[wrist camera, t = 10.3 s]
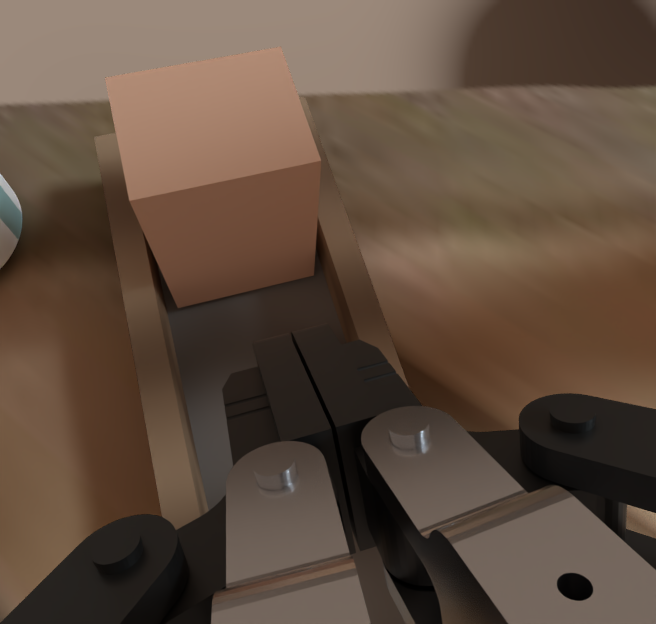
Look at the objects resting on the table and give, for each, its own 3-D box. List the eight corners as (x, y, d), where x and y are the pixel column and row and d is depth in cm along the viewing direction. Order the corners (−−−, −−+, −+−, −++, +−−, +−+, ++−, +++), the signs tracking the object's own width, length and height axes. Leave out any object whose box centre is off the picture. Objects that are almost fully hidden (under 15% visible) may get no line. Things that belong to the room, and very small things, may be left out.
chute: (464, 609, 22) (491, 615, 19) (212, 696, 20) (198, 719, 17) (303, 144, 30) (304, 96, 27) (115, 182, 28) (94, 137, 25)
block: (313, 275, 26) (321, 160, 19) (178, 308, 25) (129, 200, 18) (284, 183, 28) (280, 46, 20) (156, 211, 27) (105, 77, 20)
